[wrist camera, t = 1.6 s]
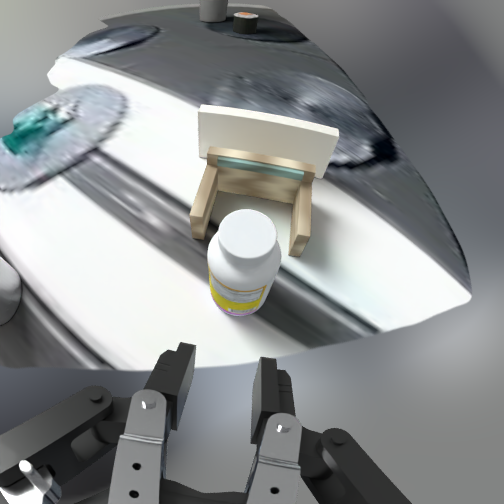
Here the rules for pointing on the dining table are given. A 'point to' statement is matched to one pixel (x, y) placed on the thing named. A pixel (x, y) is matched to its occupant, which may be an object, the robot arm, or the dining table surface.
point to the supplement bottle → (243, 261)
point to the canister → (213, 10)
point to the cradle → (256, 188)
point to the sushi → (245, 23)
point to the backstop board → (266, 135)
